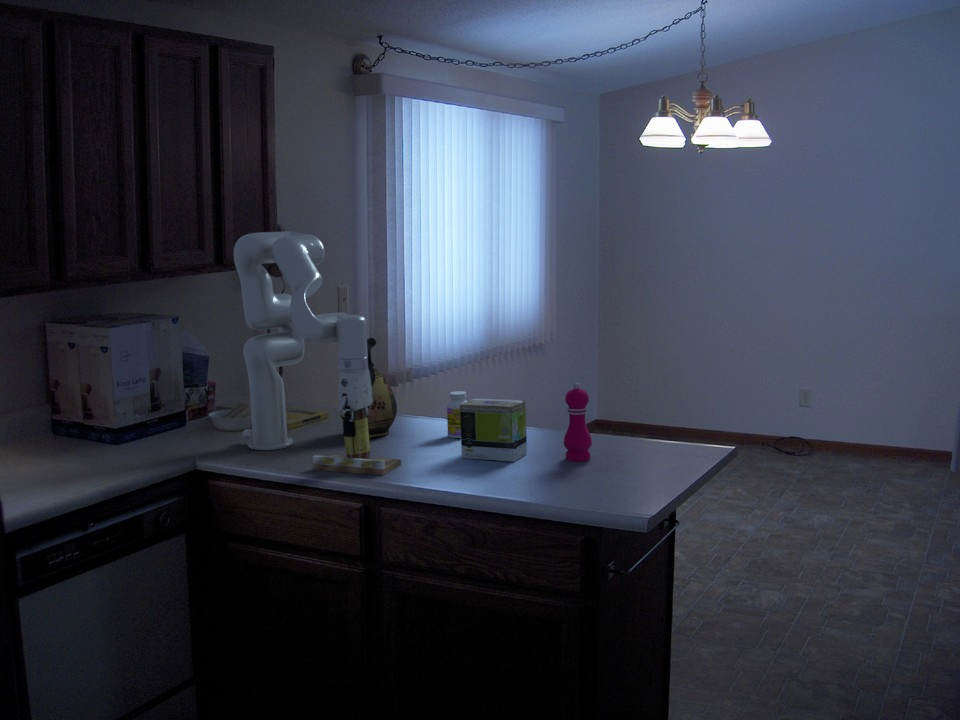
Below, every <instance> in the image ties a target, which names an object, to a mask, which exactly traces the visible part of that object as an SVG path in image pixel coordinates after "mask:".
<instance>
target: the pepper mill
mask: <svg viewBox="0 0 960 720" xmlns="http://www.w3.org/2000/svg"><path fill="white" fill-rule="evenodd" d="M564 399H565V403H566V405H567V406H568V407H567V414H568V416H569V421H568V422H569V423H568V426H567V430H566V432H565V434H564V437H563V446H564V447H565V449H567V451H566V452H565V460H566V461H569V462H575V463H579V462H580V463H583V462H587V461H589V460H590V459H591V452H590V451H589V449H590V448H591V446H592V444H593V441H592V437H591V434H590V432H589V430H588V426H587V423H586V414H587V413H588V410H587V409H588V407H587V405H588V404H589V402H590V401H589V399H590V397H589V394H588V392H587V391H586V390H585V389H583V388H581V384H580V383H579V382H575V383H574V384H573V385H572V389H569V390H568V391H567V392H566V394H565V398H564Z"/></svg>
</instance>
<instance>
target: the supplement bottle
mask: <svg viewBox="0 0 960 720" xmlns="http://www.w3.org/2000/svg"><path fill="white" fill-rule="evenodd" d="M449 398H450V400H449V401H448V402H447V404H446V420H447V421H446V423H447V424H446V425H447V436H448V437H449V438H451V439H455V438H461V425H460V404H463V403H465V402H468V401H469V400H467V399H466V398H467V392H466V391H463V390H462V391H459V390H458V391H451V392H450V393H449Z"/></svg>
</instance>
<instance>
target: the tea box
mask: <svg viewBox="0 0 960 720" xmlns="http://www.w3.org/2000/svg"><path fill="white" fill-rule="evenodd" d="M467 401H468V402H465V403H463V404H460V425H461V439H460V444H461V445H460V446H461V458H462V459H471V460H486V461H499V462H512V463H513V462H515V461H517V460H520V459H521V458H523V457H524V456H526V455H527V454H528V453H527V450H528V444H527V443H528V442H527V441H528V440H527V438H528V436H527V414H526V413H527V412H526V411H527V410H526V400H525V399H524V400H523V399H503V398H499V399H498V398H479V397H478V398H473V399H470V400H467Z"/></svg>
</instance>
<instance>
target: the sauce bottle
mask: <svg viewBox="0 0 960 720" xmlns="http://www.w3.org/2000/svg"><path fill="white" fill-rule="evenodd" d="M346 409H351V408H350V407H347V408H346ZM347 413H348V414H349V415H350V412H347ZM353 421H355V433H356V436H355V437H345V436H344V435H343V436H344V438H343V439H344V448H345V456H347V458H358V459H367V458H368V457H371V456H370V455H371V454H370V453H371V452H370V451H371V445H370V438H369V432H368V421H367V413H366V408H365V407H364V408H363V409H360V410H358V411H355V413H354V419H353Z"/></svg>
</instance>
